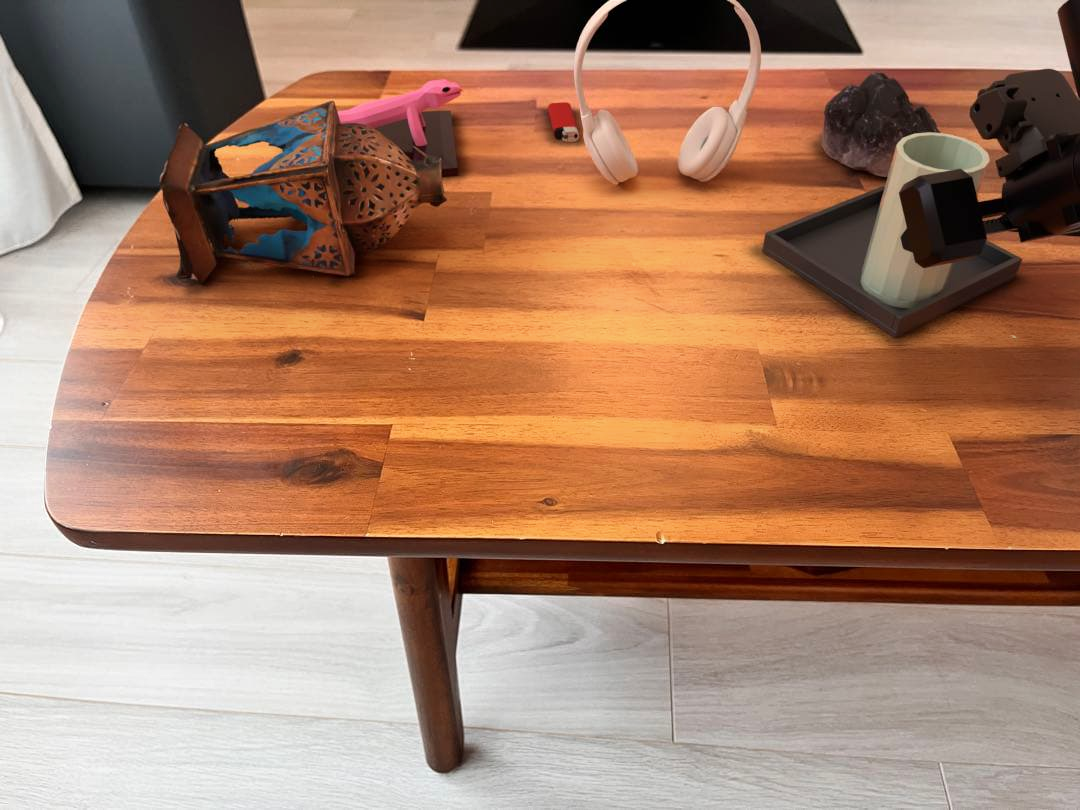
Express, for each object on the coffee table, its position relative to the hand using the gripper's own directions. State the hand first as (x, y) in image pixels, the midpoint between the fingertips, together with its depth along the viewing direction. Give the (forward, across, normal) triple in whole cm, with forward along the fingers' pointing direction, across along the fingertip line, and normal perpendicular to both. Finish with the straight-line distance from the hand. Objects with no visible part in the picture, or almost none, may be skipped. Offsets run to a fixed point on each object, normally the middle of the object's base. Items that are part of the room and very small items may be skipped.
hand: (952, 233), depth 73 cm
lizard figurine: (+39, +40, -27) cm, 62 cm away
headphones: (+27, +13, -15) cm, 34 cm away
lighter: (+38, +18, -26) cm, 50 cm away
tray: (+12, -1, 0) cm, 12 cm away
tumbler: (+8, 0, +3) cm, 9 cm away
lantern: (+25, +49, -13) cm, 57 cm away
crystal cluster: (+26, -13, -14) cm, 32 cm away
